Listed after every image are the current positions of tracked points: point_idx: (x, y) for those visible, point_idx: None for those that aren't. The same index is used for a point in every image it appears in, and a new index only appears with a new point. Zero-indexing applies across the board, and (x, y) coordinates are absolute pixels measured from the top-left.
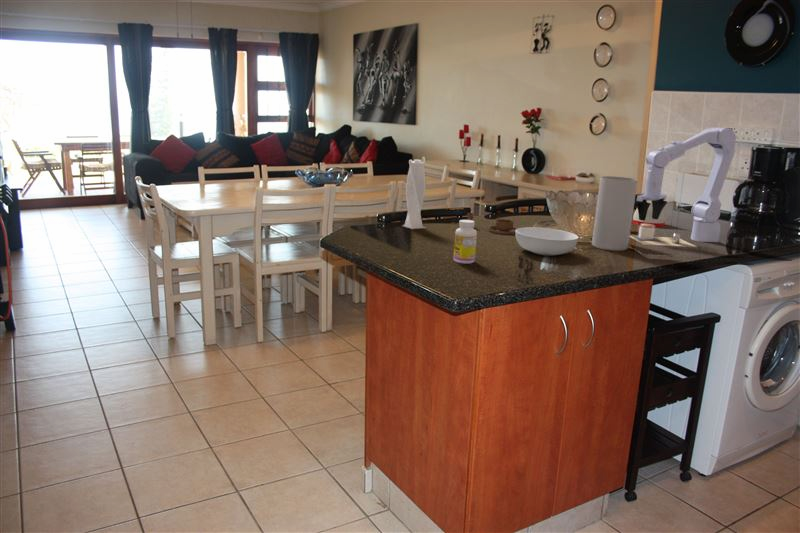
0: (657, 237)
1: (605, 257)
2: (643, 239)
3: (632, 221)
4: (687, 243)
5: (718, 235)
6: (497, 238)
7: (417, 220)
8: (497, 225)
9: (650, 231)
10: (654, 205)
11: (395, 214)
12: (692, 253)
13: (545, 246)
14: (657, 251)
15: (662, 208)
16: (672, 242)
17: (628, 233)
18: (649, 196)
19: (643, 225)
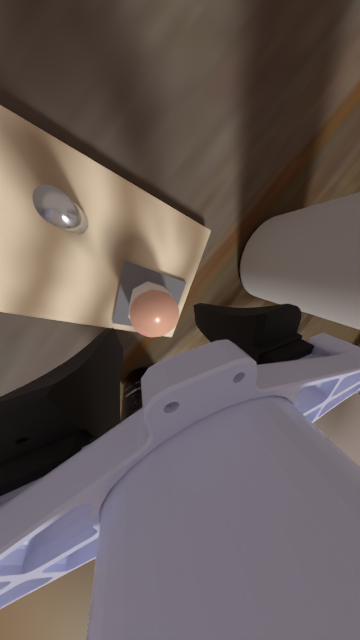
0: (94, 315)
1: (348, 172)
2: (174, 280)
3: (128, 400)
4: (1, 195)
5: None
6: (331, 330)
7: None
8: None
9: (156, 287)
10: (113, 402)
11: None
12: (59, 68)
13: None
14: (194, 181)
15: (66, 362)
16: (87, 226)
17: (314, 206)
18: (330, 376)
19: (178, 309)
